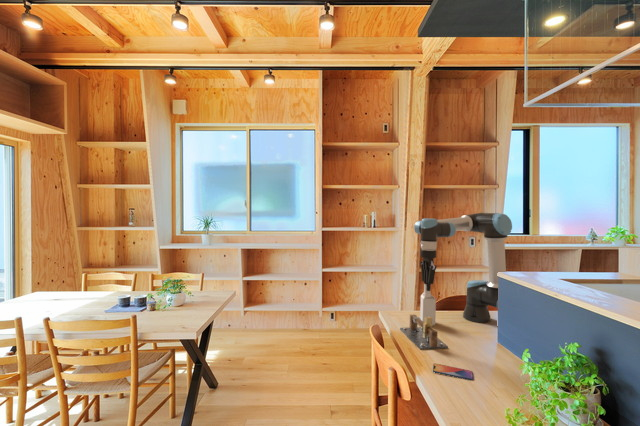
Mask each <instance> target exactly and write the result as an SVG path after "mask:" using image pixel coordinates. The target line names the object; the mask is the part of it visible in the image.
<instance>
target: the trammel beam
mask: <svg viewBox="0 0 640 426" xmlns="http://www.w3.org/2000/svg"><path fill="white" fill-rule="evenodd" d="M423 323H424V322H423V321H422V320H420V316H417V314H409V327H410V328H411V329H416V331H417V327H422V328H423ZM427 332H428V333H429V345H430V346H431V347H437V338H438V331H437V330H434V328H433V327H427Z"/></svg>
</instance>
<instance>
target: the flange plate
mask: <svg viewBox="0 0 640 426" xmlns="http://www.w3.org/2000/svg"><path fill="white" fill-rule="evenodd" d="M399 330H400V331H401V332H402V334H404V335H405V337H407V338H408V339H409V340H410V341H411V342H412V343H413V344H414V345H415V346H416V347H417V348H418V349H419V350H439V349H441V350H442V349H448V348H449V346H448V345H447V344H446V343H444V342H443V340H441V339H440V338H439V337H437V347H431V346H430V345H429V341H427V334H426V338H424V337H423V328H422V327H421V326H417V331H416V329H411V328H410V326H408V327H406V326H405V327H400V328H399Z"/></svg>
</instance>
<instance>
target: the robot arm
mask: <svg viewBox="0 0 640 426" xmlns="http://www.w3.org/2000/svg"><path fill="white" fill-rule="evenodd" d="M413 228H414V232H415V233H416V234H417V235H420V243H419V244H420V251H419V253H420V254H419V255H420V257H421V258H422V261H420V262H419V264H420V273H421V281H422V282H423V293H424V297H430V294H431V293H432V291H431V289H432V288H431V285H433V284H434V282H435V275H436V271H437V265H434V259H435V258H437V249H438V247H437V246H438V245H437V243H438V242H437V241H438V238H452V237H454V235H455V234H456V232H458V231H459V232H460V231H463V232H472V233H473V232H475V233H479V234H480V233H481V234H483V237H484V239H486V240H487V263H488V280H489V281H487V280H484V279H483V280H481V279H479V280H477V279H476V280H474V279H473V280H468V282H467V284H466V305H465V307H464V310H463V313H462V317H463V318H464V319H465V320H467V321H469V322H470V321H471V322H474V323H480V324H482V323H489V322H491V314H490V311H489V308H488V307H489V306H490V307H492V308H497V309H498V276H497V273H498V272H506V273H507V267H506V247H505V246H506V245H505V242H506V239H507V238H508V235H510V234H511V233H512V229H513V222H512V220H511V218H510V217H509V216H508V215H507V214H505V213H499V212H477V213H471V214H464V215H461V217H451V218H445V219H444V218H443V219H442V218H441V219H437V218H428V217H427V218H422V219H421V220H417V221H416V222H415V223H414V226H413Z"/></svg>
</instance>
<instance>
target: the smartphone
mask: <svg viewBox="0 0 640 426" xmlns="http://www.w3.org/2000/svg"><path fill="white" fill-rule="evenodd" d="M434 372H435V373H434ZM432 373H434V374H436V373H440V374H439V375H441V374H445V375H444V376H447V375H450V376H449V377H452V376H454V377H453V378H457V377H458V379H462V378H463V379H462V380H468V381H473V380H474V374H473V371H472V370H469V369H465V368H459V367H454V366H449V365H444V364H441V363H433V366H432Z"/></svg>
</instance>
